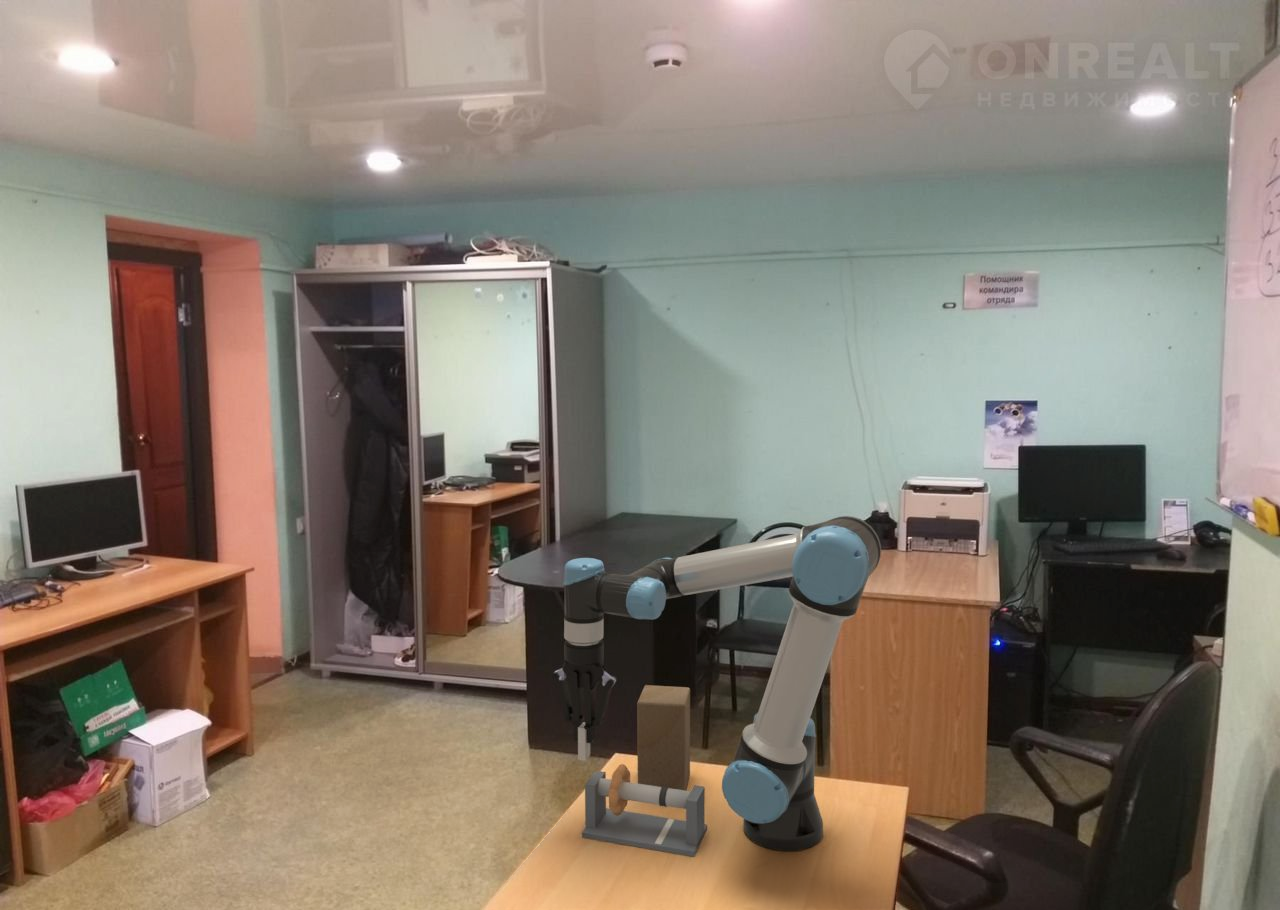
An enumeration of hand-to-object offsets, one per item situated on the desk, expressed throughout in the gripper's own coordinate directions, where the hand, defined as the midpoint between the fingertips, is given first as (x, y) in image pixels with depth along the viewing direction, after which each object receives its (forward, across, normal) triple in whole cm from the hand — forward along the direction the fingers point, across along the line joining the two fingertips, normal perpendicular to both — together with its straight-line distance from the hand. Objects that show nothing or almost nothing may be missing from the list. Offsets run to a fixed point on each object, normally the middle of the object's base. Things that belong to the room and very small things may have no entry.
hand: (584, 757), depth 174 cm
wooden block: (+14, -10, -20) cm, 26 cm away
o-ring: (+10, -7, 0) cm, 12 cm away
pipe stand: (+13, -12, 0) cm, 18 cm away
